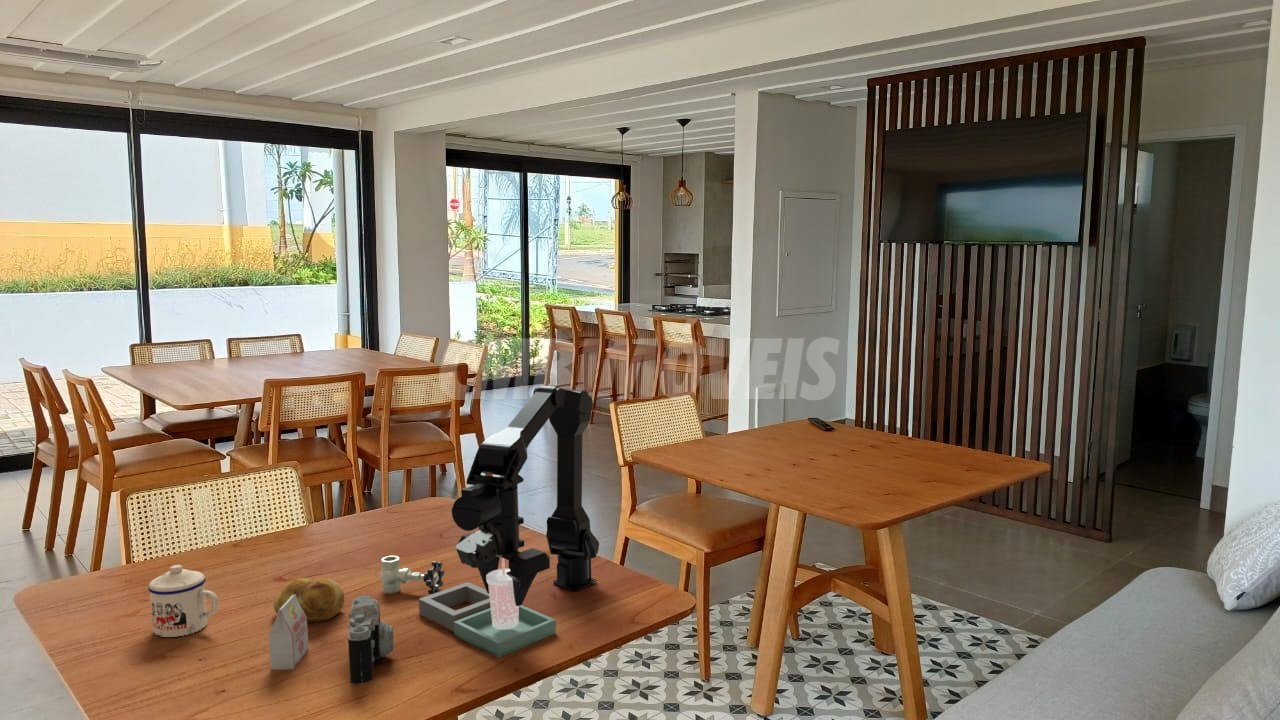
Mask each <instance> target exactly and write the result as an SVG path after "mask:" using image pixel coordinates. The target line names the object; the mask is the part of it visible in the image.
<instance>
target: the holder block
mask: <svg viewBox="0 0 1280 720" xmlns="http://www.w3.org/2000/svg"><path fill="white" fill-rule="evenodd" d="M466 602H467V603H469V604H470V605H467V606H465V607H464V606H463V607H462V608H460V609H456V610H455V609H453V608H452V607H455V606H457V605H460V604H463V603H466ZM489 608H491V607H490V597H489V594H488V593H487V591H486V588H482V587H480V586H478V585H475V584H473V583H471V582H469V581H468V582H464V583H462V584H458V585H455V586H451V587H449V588H447V589H443V590H439V592H437V593H434V594H429V595H426V596H423V597H420V598H418V612H419V613H418V614H419V616H422V617H424V618H426V619H428V620H429V621H432V622H434V623H436V624H438V625H440V626H442V627H444V628H446V629H448V630H450V631H451V632H454V622H455V621H457V620H460V619H462V618H465V617H468V616H470V615H473V614H476V613H478V612H481V611H484V610H486V609H489Z"/></svg>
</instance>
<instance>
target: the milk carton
mask: <svg viewBox="0 0 1280 720" xmlns="http://www.w3.org/2000/svg"><path fill="white" fill-rule="evenodd" d="M276 614H277V615H276V617H275V619H274V622H273V625H272V627H271V629H270V631H269V633H268V642H269V643H268V644H269V656H270V657H269V660H270V661H269V662H270V670H271V669H273V670H295V668H296V667H297V666H298V665H299V664H300V662H301V660H302V659H303V658H304V657H305V655H307V653H308V652H309V636H308V635H309V633H308V622H307V617H306V615H305V613H304V611H303V610H302V608H301V606H300V604H299V602H298V600H297V597H296V594H295V595H294V596H293V595H292V596H291V597H290V598H289V599H288V601H287V602H286V603H285V604H284V605H283V606H282V607H281V608H280V609H279V610H278V613H276ZM297 664H298V665H297Z"/></svg>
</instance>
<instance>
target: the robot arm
mask: <svg viewBox="0 0 1280 720" xmlns="http://www.w3.org/2000/svg"><path fill="white" fill-rule="evenodd" d="M593 408H594V401H593V397H592V396H591V395H590V394H589V393H588V392H587V391H586V390H583V389H582V390H580V389H570V388H569V389H566V388H563V387H562V388H561V387H560V386H556V385H555V386H553V385H539V386H536V387H534V389H533V393H532V396H531V397H530V398H529V400H527V402H526V403H525V404H524V405H523V407H522V408H521V409H520V410H519V412H518V413H517V414H516V415H515V416H514V418H513V419H512V420H511V421H510V423H508V425H507V427H505V428H504V429H502V430H501V431H498V432H495V433H493V434H490V435H489V437H488V438H486V439H485V440H484V441H483V442H481V443H480V445H479V446H478V448H477V451H476V453H475V456H474V459H473V462H472V464H471V467H470V470H469V474H468V475H467V479H466V481H465V482H466V485H471V486H466V487H463V488H462V489H461V492H460V493H461V495H460V497H458V498H457V499H456V500H455V501H454V502H453V505H452V508H451V515H452V519H453V521H454V523H455V524H456V525H457V527H458V528H459V529H461V530H464V531H465V532H466V531H467V532H471V531H474V530H476V529H478V530H477V531H474V532H471V533H468V534H464V535H462V536H461V537H460V539H459V540H458V543H457V544H456V546H455V550H456V553H457V555H458V557H459V561H460V562H461V564H463V565H467V566H469V567H470V568H472V569H477V570H478V571H479V574H480V577H481V579H482V582H483V585H484V589H485V590H486V591H487V593H488V594H489V587H488V583H487V580H486V575H487V574H488V573H489V572H491V571H494V570H498V569H499V565H500V558H501V559H502V558H504V559H505V560H508V569H510V571H509V572H506V574H507V575H508V576H509V577H511V578H512V580H513V589H514V599H515V604H516V606H520V605H523V603H524V601H525V599H526V596H528V595H527V594H528V592H529V590H530V588H531V585H532V584H533V581H534V580H535V578H536V576H537V575H538V573H541V572H543V571H546V570H548V569H550V568H551V565H550V563H551V559H550V555H551V556H553V555H556V556H557V563H556V579H554V580H552V583H553V585H556V586H558V587H561V588H563V589H567V590H569V591H571V592H577V591H579V590H581V589H580V588H582V589H584V588H586V587H585V586H587V585H589V584H592V583H594V582H596V581H597V579H596V578H592V559H595V558H597V555H598V553H599V549H600V542H599V541H598V539H597V537H595V535H594V534H593V532H592V530H591V522H590V521H591V520H590V518H589V516H588V514H587V512H586V510H585V509H584V508H583V503H582V502H583V500H582V499H583V434H584V433H585V431H586V430H587V427H588V426H589V424H590V422H591V419H592V411H593ZM548 420H549V423H550V425H551V426H552V428H553V430H554V432H555V434H556V437H557V439H556V441H557V443H556V448H557V449H556V450H557V451H556V456H557V457H556V463H557V464H556V467H557V468H556V508H555V510H554V511H553V513H552V514H551V516H548V517H547V519H546V534H545V538H546V540H547V546H548V549H549V553H550V555H549V554H548V553H547V552H545V551H542V550H539V549H537V548H534V547H532V548H527V549H526V550H522V551H519V549H520V548H523V547H525V540H524V539H521V538H520V527H519V526H520V525H522V524H525V520H524V517H522V516H519V491H518V486H519V484H521V483H523V482H524V478H523V476H521V475H520V474H519V473H520V472H521V470H522V468H523V467H524V465H525V463H526V461H527V460H528V447H529V446H530V444H531V442H532V441H533V440H534V439H535V437H536V436H537V435H538V433H539V432H540V431H541V430H542V428H543V427H544V426H545V424H546V423H547V422H548ZM485 474H486V475H485ZM492 475H494V476H492ZM594 580H595V581H594ZM597 582H598V581H597ZM594 584H595V583H594ZM592 585H593V584H592ZM589 586H590V585H589ZM583 587H584V588H583ZM587 587H588V586H587Z"/></svg>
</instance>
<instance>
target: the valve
mask: <svg viewBox="0 0 1280 720" xmlns="http://www.w3.org/2000/svg"><path fill="white" fill-rule="evenodd" d="M431 566H432V568H428V570H427V571H426V572H425V573H424V574H423V573H422V572H421V571H420V572H419V571H412V570H411V568H407V567H403V568H402V569H401V567H400V557H399V556H397V555H388V556H385V557H382V558H381V570H380V573H379V578H380V581H381V583H382V591H383V592H382V593H383V594H390V595H391V594H395V593H398V592H401V590H402V589H401V588H402V587H401V584H406V585H408V584H409V583H410V582H412V581H414V582H422V581H423V582H424V583H425V586H426V587H428V588H429V589H428V591H427V593H428V594H429V595H431V594H434V593H437V592H440V588H442V587H444V581H443V580H442V578H443V577H444V575H445V572H446V571H445V570H444V569H442V567H443V562H442V561H432V562H431ZM436 572H437V573H436ZM435 583H436V584H435Z"/></svg>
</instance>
